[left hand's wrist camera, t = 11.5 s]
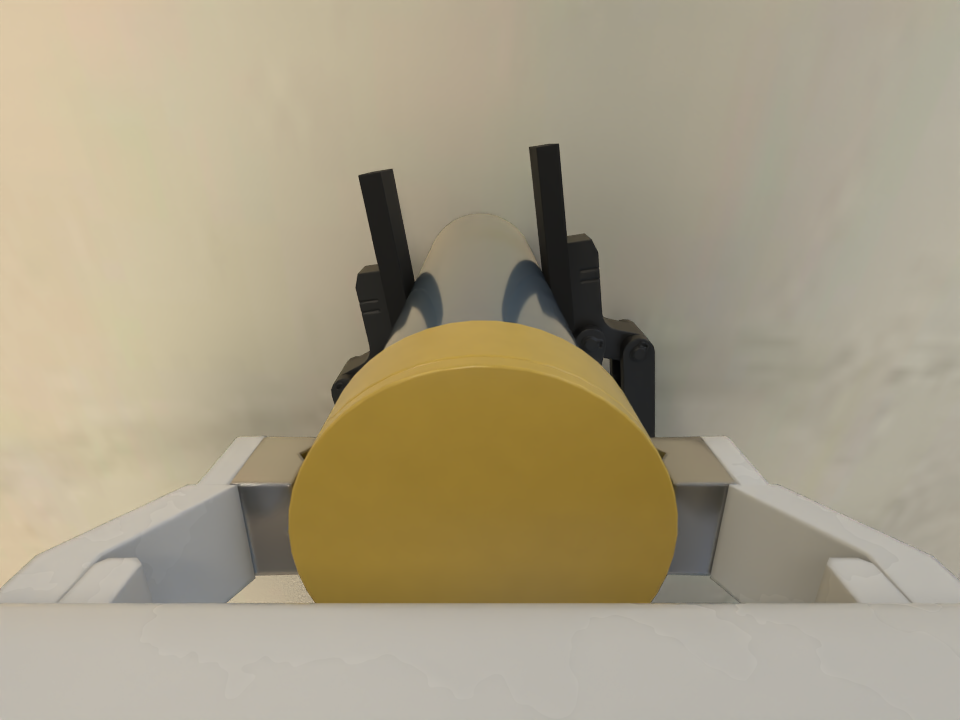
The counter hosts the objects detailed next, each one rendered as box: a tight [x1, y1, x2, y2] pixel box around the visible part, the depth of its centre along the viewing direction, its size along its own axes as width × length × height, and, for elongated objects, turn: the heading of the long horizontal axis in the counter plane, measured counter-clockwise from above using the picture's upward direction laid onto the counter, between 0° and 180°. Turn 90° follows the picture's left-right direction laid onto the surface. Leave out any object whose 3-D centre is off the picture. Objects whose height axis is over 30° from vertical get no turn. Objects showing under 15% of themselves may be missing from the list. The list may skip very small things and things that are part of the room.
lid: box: [288, 321, 678, 603], centre depth 9 cm, size 6×6×2 cm
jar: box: [383, 213, 579, 350], centre depth 18 cm, size 5×5×20 cm
